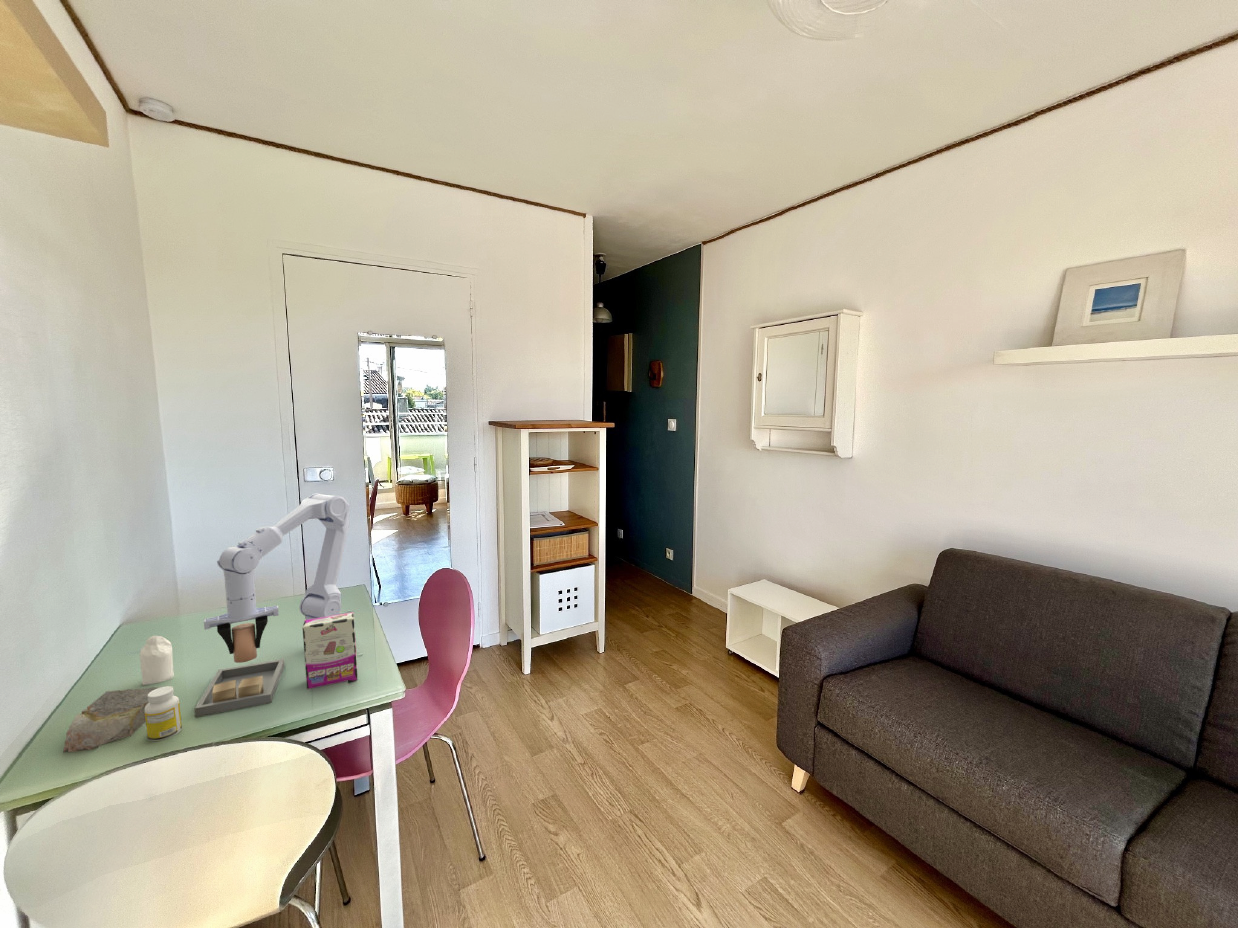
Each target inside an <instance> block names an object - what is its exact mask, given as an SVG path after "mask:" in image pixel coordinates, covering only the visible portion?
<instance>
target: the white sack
mask: <svg viewBox="0 0 1238 928" xmlns="http://www.w3.org/2000/svg"><path fill="white" fill-rule="evenodd" d="M139 662H140V671H141V679H142V685H143V686H147V685H153V684H158V683H162V682H164V681H168V680H169V681H170V680H172V679H173V677H175V675H174V663H173V646H172V642H171V641H170V640H168V639H167V638H165V637H163V636H161V635H152V636H151V637H149V638H147V639H146V641H145V644H144V645H143V646H142V648H140V651H139Z"/></svg>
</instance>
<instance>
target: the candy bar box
mask: <svg viewBox="0 0 1238 928" xmlns="http://www.w3.org/2000/svg"><path fill="white" fill-rule="evenodd" d="M355 623H356V622H355V613H354V611H352V612H347V613H346V612H345V613H339V615H333V616H327V617H321V618H315V619H309V620H304V621H303V625H302V640H303V650H304V651H303V653H304V665H305V666H304V667H305V680H306V690H309V689H314V688H318V687H324V686H329V685H333V684H338V683H344V682H346V681H347V683H350V682H354V681H357V680H358V678H359V677H358V672H359V671H358V654H357V640H356V639H357V637H356V626H355Z"/></svg>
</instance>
